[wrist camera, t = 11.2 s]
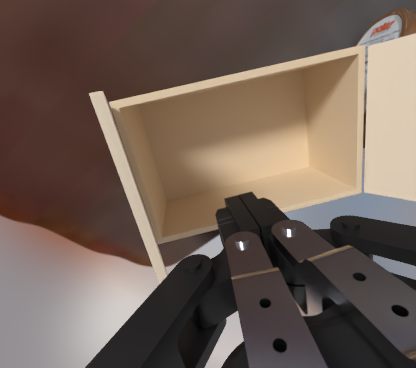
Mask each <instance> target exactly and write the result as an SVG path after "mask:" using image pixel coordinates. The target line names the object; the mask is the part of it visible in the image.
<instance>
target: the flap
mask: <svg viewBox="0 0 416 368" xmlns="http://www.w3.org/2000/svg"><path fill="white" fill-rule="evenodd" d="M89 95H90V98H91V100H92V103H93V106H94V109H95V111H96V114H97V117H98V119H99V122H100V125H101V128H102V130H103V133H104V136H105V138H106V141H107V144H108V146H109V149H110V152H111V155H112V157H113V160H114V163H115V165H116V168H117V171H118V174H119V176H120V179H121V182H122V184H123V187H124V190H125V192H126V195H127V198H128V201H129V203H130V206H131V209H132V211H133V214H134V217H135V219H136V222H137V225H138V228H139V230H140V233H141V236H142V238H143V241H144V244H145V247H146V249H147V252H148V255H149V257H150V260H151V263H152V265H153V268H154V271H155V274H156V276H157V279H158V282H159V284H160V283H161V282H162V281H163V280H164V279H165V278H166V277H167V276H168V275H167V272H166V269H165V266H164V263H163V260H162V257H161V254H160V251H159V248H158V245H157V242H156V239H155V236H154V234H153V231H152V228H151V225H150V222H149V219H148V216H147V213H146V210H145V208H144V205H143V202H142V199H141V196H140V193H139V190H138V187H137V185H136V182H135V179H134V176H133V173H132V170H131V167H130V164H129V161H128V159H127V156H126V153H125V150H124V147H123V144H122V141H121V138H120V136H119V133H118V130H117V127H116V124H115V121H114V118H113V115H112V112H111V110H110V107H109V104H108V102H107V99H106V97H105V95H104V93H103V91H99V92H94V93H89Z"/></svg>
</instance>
